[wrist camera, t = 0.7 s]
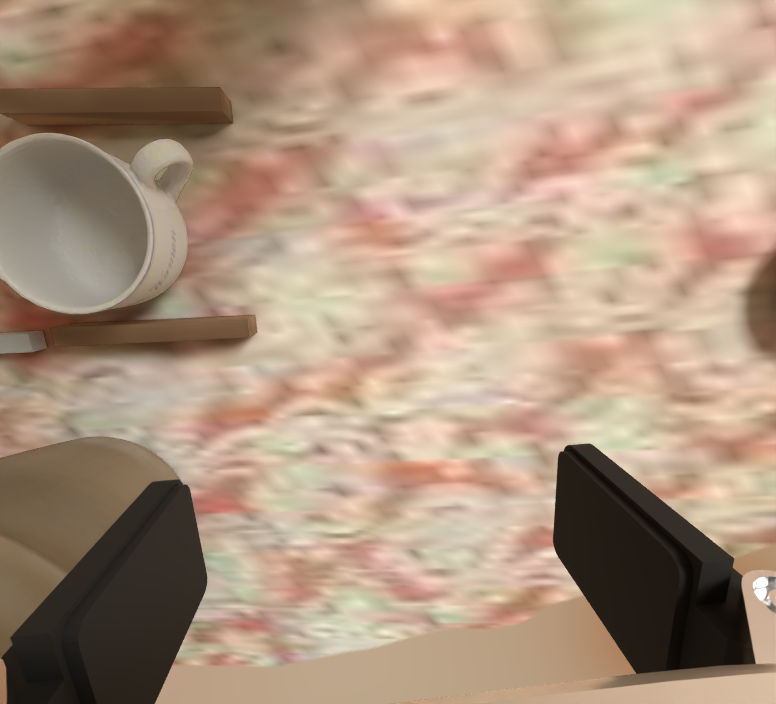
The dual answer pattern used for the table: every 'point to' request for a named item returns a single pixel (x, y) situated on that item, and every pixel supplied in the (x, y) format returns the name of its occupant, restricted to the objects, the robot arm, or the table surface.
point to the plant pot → (62, 513)
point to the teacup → (90, 222)
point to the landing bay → (22, 342)
